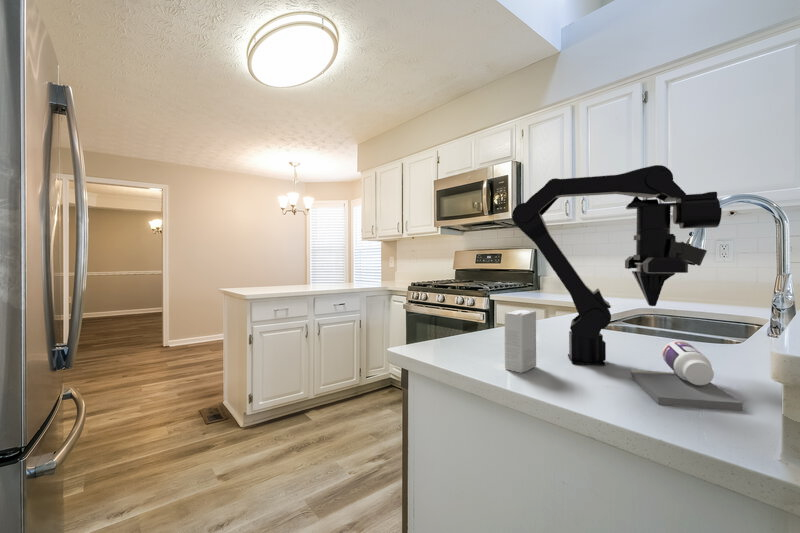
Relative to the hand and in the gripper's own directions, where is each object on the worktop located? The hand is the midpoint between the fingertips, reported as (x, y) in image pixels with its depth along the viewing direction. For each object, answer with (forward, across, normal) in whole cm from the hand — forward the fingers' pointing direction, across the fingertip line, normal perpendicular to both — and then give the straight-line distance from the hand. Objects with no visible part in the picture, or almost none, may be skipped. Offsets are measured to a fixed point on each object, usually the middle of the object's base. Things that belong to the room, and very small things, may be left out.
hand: (652, 305), depth 76 cm
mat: (+13, -14, 0) cm, 19 cm away
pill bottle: (+8, -5, -3) cm, 10 cm away
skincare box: (+13, -7, +26) cm, 30 cm away
